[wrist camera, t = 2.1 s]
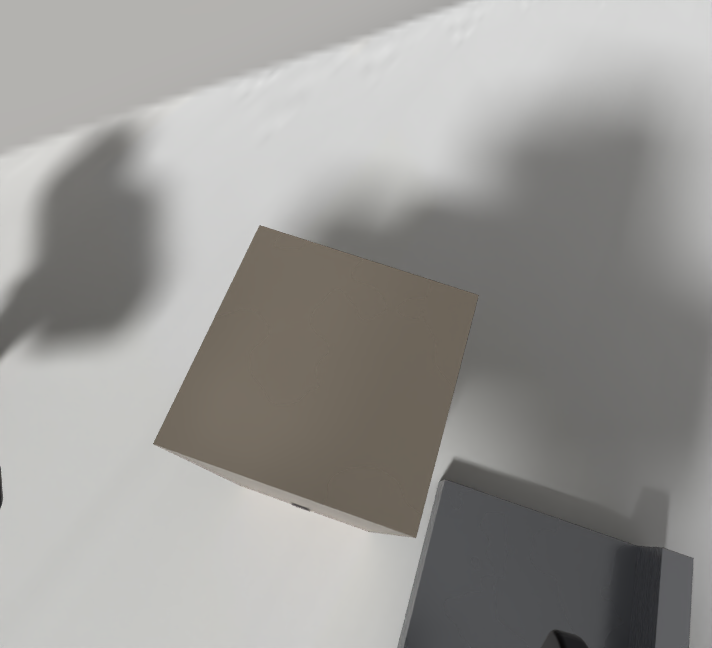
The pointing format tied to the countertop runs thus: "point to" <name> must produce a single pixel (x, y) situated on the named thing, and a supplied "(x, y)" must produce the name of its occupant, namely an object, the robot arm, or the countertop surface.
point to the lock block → (325, 383)
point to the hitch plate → (539, 581)
